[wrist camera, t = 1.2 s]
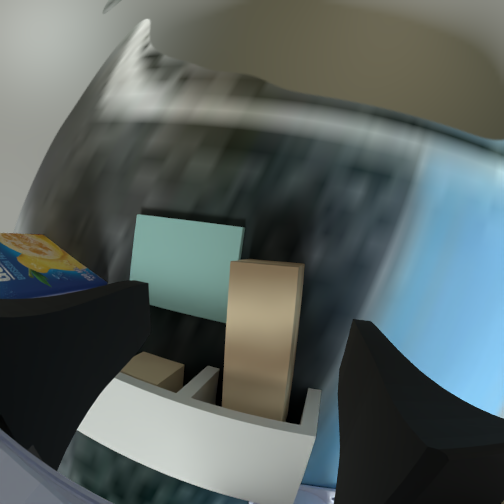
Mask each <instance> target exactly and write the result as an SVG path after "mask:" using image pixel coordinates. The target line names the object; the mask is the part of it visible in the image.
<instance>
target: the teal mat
mask: <svg viewBox="0 0 504 504" xmlns="http://www.w3.org/2000/svg"><path fill="white" fill-rule="evenodd" d="M244 232H245V228H243V227H236V226H228V225H221V224H213V223H205V222H197V221H189V220H181V219H173V218H164V217H156V216H147V215H139V214H137V220H136V227H135V235H134V243H133V252H132V261H131V271H130V280H137V281H141V282H146V283H149V303H150V305H153V306H157V307H161V308H164V309H168V310H172V311H176V312H180V313H184V314H188V315H192V316H197V317H201V318H205V319H209V320H214V321H218V322H223V323H226V322H227V306H228V290H229V275H230V261H237V260H241V253H242V246H243V239H244Z"/></svg>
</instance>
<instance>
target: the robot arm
mask: <svg viewBox="0 0 504 504" xmlns="http://www.w3.org/2000/svg"><path fill="white" fill-rule="evenodd" d="M150 333H151V319H150V303H149V283H146V282H141V281H137V280H129V281H122V282H117V283H112V284H108V285H103V286H99V287H95V288H91V289H86V290H82V291H77V292H72V293H67V294H62V295H56V296H49V297H40V298H27V299H0V504H113V503H111V502H109V501H107V500H105V499H103V498H102V497H100V496H98V495H96V494H94V493H92V492H90V491H89V490H87V489H85V488H83V487H82V486H80V485H78V484H76V483H75V482H73V481H72V480H70V479H68V478H67V477H65V476H63V475H62V474H60V473H59V472H57V470H58V467H59V465H60V463H61V460H62V458H63V456H64V454H65V451H66V449H67V447H68V445H69V444H70V442H71V440H72V438H73V436H74V434H75V432H76V430H77V429H78V427H79V425H80V424H81V422H82V420H83V419H84V417H85V416H86V414H87V412H88V411H89V409H90V408H91V406H92V405H93V403H94V402H95V401H96V399H97V398H98V396H99V395H100V394H101V392H102V391H103V390H104V389H105V388H106V386H107V385H108V384H109V383H110V382H111V381H112V380H113V379H114V378H115V377H116V375H117V374H118V373H119V372H120V371H121V370H122V369H123V368H124V367H125V366H126V365H127V363H128V362H129V361H130V360H131V359H132V358H133V357H134V356H135V354H136V353H137V352H138V351H139V350H140V348H141V347H142V345H143V344H144V342H145V341H146V339H147V338H148V336H149V334H150ZM338 409H339V432H340V459H339V468H338V477H337V484H336V489H330V488H322V487H315V486H308V485H302V484H300V487H299V489H298V492H297V495H296V498H295V500H294V503H293V504H501V502H503V500H504V419H503V418H500V417H497V416H495V415H492V414H490V413H488V412H486V411H483V410H481V409H479V408H477V407H475V406H473V405H471V404H469V403H467V402H465V401H463V400H462V399H460V398H458V397H457V396H455V395H453V394H452V393H450V392H448V391H447V390H445V389H444V388H442V387H441V386H439V385H438V384H437V383H435V382H434V381H433V380H431V379H430V378H429V377H427V376H426V375H425V374H424V373H422V372H421V371H420V370H419V369H418V368H417V367H415V366H414V365H413V364H412V363H411V362H410V361H409V360H408V359H407V358H406V357H405V356H404V355H403V354H402V353H401V352H400V351H399V350H398V349H397V348H396V347H395V346H394V345H393V344H392V343H391V342H390V341H389V340H388V339H387V338H386V336H385V335H384V334H383V333H382V332H381V331H380V330H379V329H378V328H377V327H376V326H375V325H374V324H373V323H372V322H371V321H364V320H357V319H353V321H352V325H351V329H350V333H349V337H348V341H347V344H346V348H345V352H344V355H343V359H342V362H341V366H340V370H339V383H338ZM249 504H259V503H255V502H251V501H249Z"/></svg>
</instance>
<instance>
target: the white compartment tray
mask: <svg viewBox="0 0 504 504" xmlns="http://www.w3.org/2000/svg"><path fill="white" fill-rule="evenodd" d="M219 370H220V369H219V368H215V367H211V366H207V367H206V368H204V369H203V370H202V371H201V372H200V373H199V374H198V375H197V376H195V377H194V378H193V379H192V380H191V381H190V382H189V383H188V384H186V385H185V386H184V387H183V378H184V364H181V363H178V362H174V361H171V360H168V359H165V358H162V357H159V356H156V355H153V354H150V353H147V352H142V353H140V354H138V355H136V356H134V357H133V358H132V359H131V360H130V361H129V362H128V363H127V365H126V366H125V367H124V368H123V369H122V370H121V371H120V372H119V373H118V374H117V375H116V377H115V378H114V379H113V380H112V381H111V382H110V383H109V384H108V385H107V386H106V388H105V389H104V390H103V391H102V392H101V394H100V395H99V396H98V398H97V399H96V401H95V402H94V403H93V405H92V406H91V408H90V409H89V411H88V412H87V414H86V416H85V417H84V419H83V420H82V422H81V424H80V425H79V427H78V429H77V430H78V431H80V432H82V433H83V434H85V435H87V436H88V437H90V438H92V439H94V440H95V441H97V442H99V443H101V444H103V445H105V446H106V447H108V448H110V449H112V450H114V451H116V452H118V453H120V454H122V455H124V456H126V457H128V458H130V459H132V460H134V461H137V462H139V463H141V464H143V465H145V466H148V467H150V468H152V469H155V470H157V471H159V472H162V473H164V474H167V475H169V476H172V477H174V478H177V479H180V480H182V481H185V482H188V483H190V484H193V485H196V486H199V487H202V488H205V489H208V490H211V491H214V492H218V493H221V494H224V495H228V496H231V497H235V498H239V499H243V500H247V501H251V502H255V503H259V504H293V503H294V500H295V498H296V495H297V492H298V489H299V487H300V484H301V481H302V478H303V475H304V472H305V469H306V466H307V463H308V460H309V457H310V454H311V451H312V448H313V445H314V442H315V438H316V433H317V425H318V417H319V408H320V399H321V390H317V389H311V388H308V392H307V396H306V400H305V404H304V408H303V412H302V416H301V420H300V424H299V425H297V424H292V423H287V422H282V421H277V420H272V419H268V418H263V417H259V416H255V415H250V414H246V413H242V412H238V411H234V410H231V409H227V408H223V407H220V406H216V405H215V403H216V394H217V386H218V378H219Z"/></svg>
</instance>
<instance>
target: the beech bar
mask: <svg viewBox="0 0 504 504" xmlns="http://www.w3.org/2000/svg"><path fill="white" fill-rule="evenodd" d="M304 267H305V264H302V263H291V262H279V261H267V260H256V259H244V260H237V261H230V275H229V290H228V306H227V322H226V338H225V356H224V374H223V394H222V407H223V408H227V409H231V410H234V411H238V412H242V413H246V414H250V415H255V416H259V417H263V418H268V419H272V420H277V421H282V422H286V419H287V415H288V408H289V401H290V394H291V386H292V379H293V371H294V363H295V355H296V347H297V338H298V329H299V319H300V310H301V300H302V289H303V278H304Z"/></svg>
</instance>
